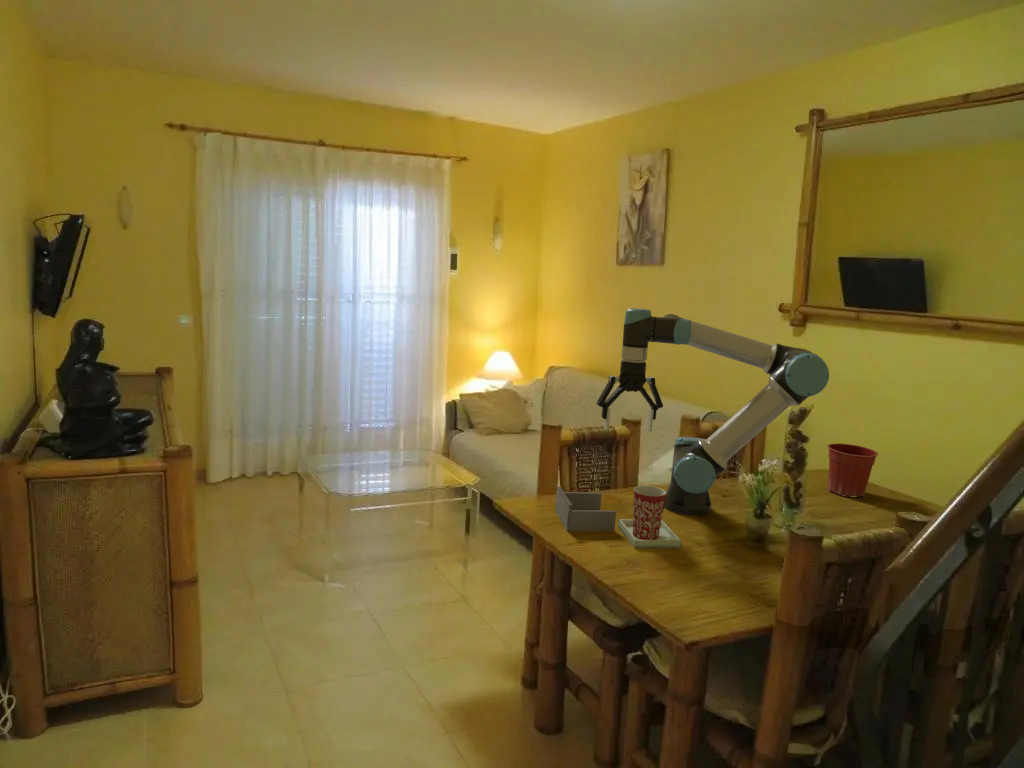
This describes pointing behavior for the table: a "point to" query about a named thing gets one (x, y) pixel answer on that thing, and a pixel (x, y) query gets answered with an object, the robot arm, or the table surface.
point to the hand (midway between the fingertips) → (627, 429)
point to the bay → (583, 512)
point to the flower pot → (849, 469)
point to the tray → (663, 541)
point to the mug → (648, 511)
